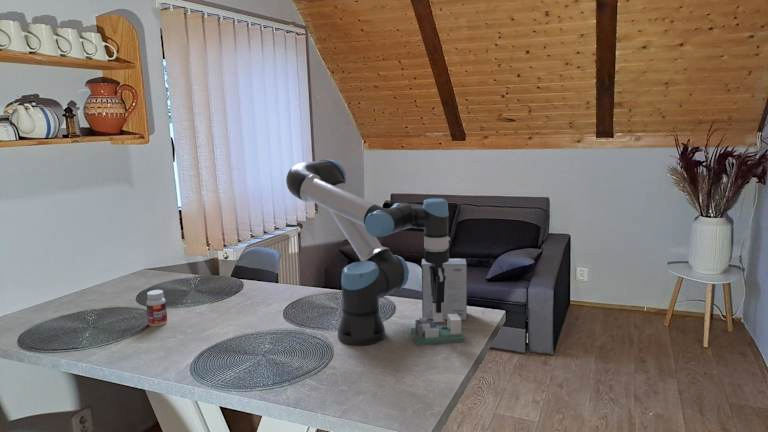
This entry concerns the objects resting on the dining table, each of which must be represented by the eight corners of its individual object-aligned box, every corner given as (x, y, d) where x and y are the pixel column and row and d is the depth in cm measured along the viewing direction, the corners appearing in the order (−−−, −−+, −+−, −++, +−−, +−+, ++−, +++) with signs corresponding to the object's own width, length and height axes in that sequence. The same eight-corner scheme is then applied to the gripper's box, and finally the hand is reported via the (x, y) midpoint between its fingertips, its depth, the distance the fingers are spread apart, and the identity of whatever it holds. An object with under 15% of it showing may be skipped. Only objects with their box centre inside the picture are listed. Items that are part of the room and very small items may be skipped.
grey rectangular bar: (417, 329, 172) (417, 325, 172) (416, 325, 174) (416, 322, 174) (446, 325, 173) (445, 321, 172) (444, 322, 175) (443, 318, 175)
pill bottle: (155, 328, 185) (152, 296, 182) (144, 324, 188) (141, 293, 186) (171, 322, 190) (168, 291, 188) (160, 318, 193) (157, 288, 191)
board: (416, 344, 168) (416, 328, 167) (411, 331, 179) (411, 316, 178) (464, 341, 170) (464, 326, 169) (456, 328, 180) (456, 313, 179)
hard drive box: (465, 312, 195) (466, 258, 191) (466, 320, 187) (467, 264, 183) (422, 311, 196) (422, 257, 192) (421, 319, 189) (421, 263, 185)
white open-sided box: (451, 334, 172) (451, 320, 171) (447, 328, 177) (447, 314, 176) (461, 334, 172) (461, 319, 171) (457, 327, 178) (457, 313, 177)
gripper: (453, 253, 163) (454, 327, 167) (443, 243, 176) (445, 312, 180) (428, 254, 162) (430, 329, 166) (420, 244, 175) (422, 314, 179)
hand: (438, 320), depth 173 cm, fingers closed
